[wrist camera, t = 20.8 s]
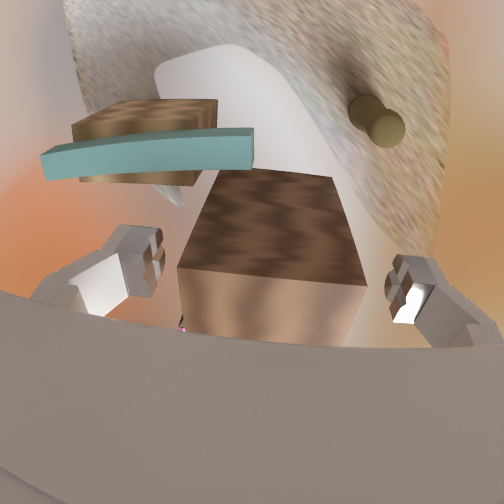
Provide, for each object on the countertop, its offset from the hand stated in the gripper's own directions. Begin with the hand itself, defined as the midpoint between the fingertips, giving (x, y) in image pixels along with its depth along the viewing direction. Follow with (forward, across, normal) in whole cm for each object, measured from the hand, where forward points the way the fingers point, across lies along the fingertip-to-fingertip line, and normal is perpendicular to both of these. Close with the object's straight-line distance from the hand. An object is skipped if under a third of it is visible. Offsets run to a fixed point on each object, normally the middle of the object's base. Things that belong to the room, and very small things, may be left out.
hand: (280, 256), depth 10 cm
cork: (+39, -14, +1) cm, 42 cm away
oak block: (+39, +17, +6) cm, 43 cm away
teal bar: (+24, +15, +5) cm, 29 cm away
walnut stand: (+39, -1, +18) cm, 43 cm away
